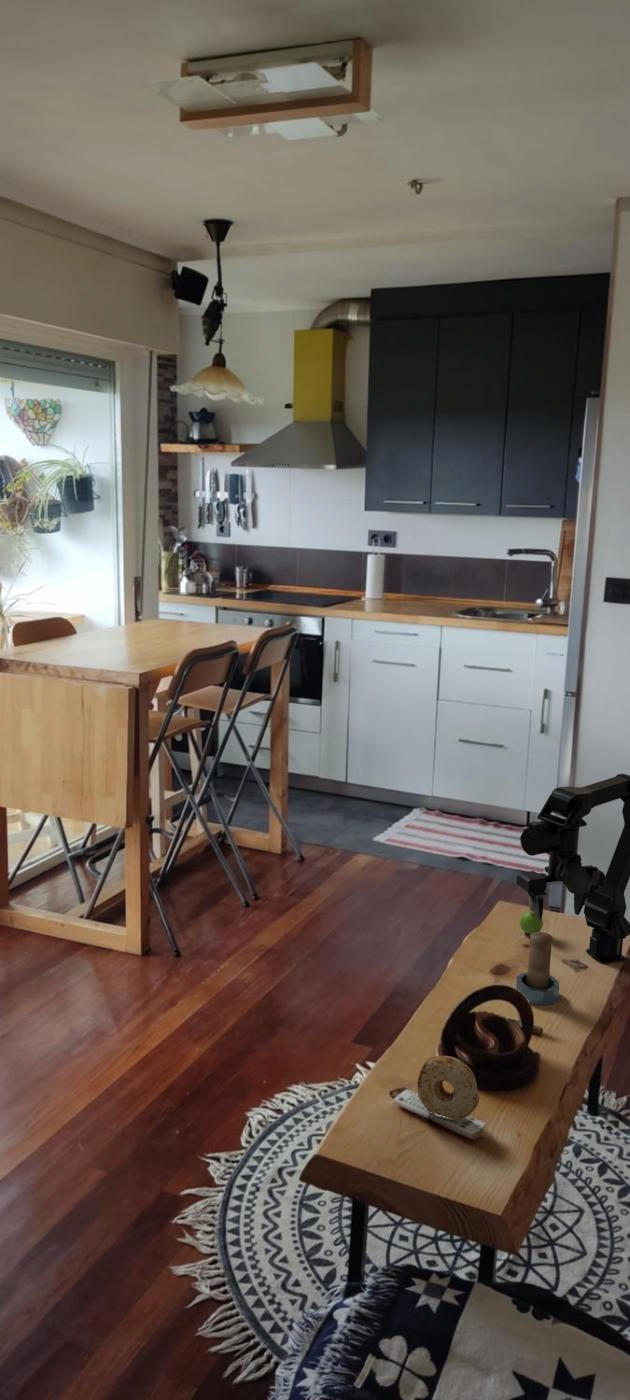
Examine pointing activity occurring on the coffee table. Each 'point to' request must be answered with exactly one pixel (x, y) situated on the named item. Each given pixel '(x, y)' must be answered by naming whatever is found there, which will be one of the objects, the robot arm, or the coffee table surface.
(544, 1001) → the metal collar
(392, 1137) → the coffee table surface
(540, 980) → the walnut shaft
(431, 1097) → the stone disc
